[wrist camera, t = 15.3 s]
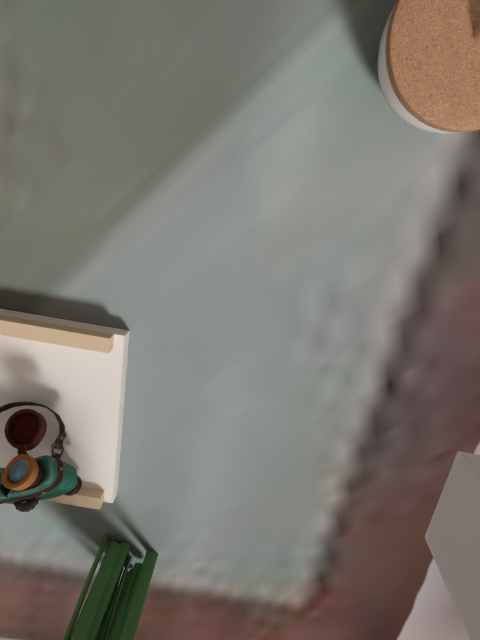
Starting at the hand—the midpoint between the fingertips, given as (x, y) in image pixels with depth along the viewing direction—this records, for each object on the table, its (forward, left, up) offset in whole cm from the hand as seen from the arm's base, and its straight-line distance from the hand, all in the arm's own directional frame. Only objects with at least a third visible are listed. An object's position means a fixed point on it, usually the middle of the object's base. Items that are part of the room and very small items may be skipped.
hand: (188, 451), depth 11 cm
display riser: (+19, -20, -29) cm, 40 cm away
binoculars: (+18, -19, -28) cm, 38 cm away
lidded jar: (-17, +12, -29) cm, 36 cm away
